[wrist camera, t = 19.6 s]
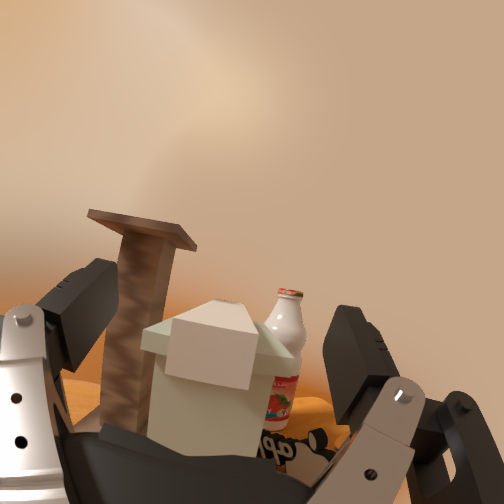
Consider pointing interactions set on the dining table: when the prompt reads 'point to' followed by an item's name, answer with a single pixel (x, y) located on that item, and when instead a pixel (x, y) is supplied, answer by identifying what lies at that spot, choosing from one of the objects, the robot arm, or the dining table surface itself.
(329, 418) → the dining table surface
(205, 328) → the panel bar
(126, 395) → the walnut stand
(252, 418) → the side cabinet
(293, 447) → the logo
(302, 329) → the fruit juice
